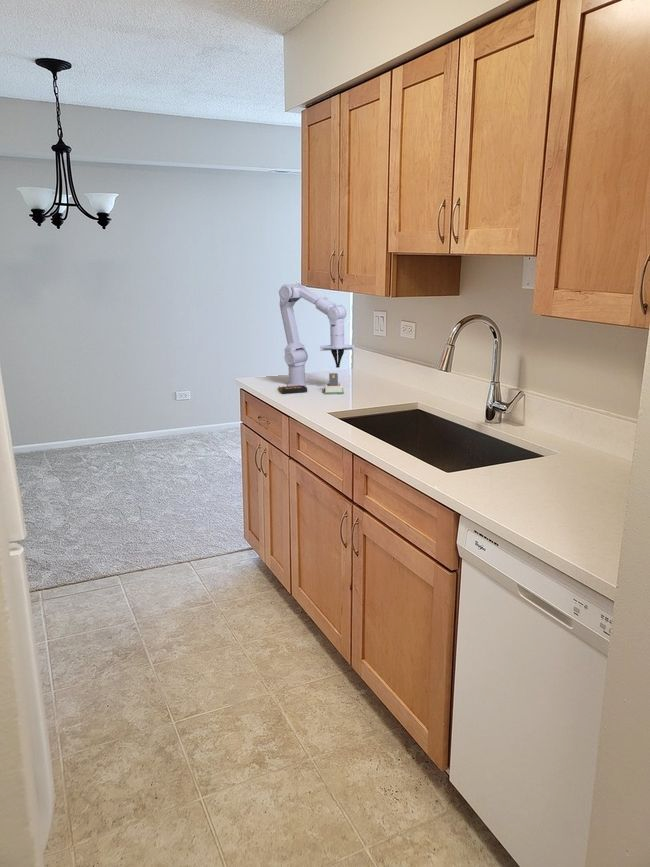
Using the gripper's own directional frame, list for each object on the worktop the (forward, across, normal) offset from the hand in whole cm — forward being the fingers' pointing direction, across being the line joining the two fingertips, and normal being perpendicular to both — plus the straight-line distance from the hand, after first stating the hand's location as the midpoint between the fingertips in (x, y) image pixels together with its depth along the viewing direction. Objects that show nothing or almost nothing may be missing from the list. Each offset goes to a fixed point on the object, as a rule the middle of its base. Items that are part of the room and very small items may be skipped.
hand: (337, 367), depth 280 cm
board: (+10, -2, -3) cm, 11 cm away
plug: (+9, -2, -3) cm, 10 cm away
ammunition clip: (+9, -18, -4) cm, 21 cm away
